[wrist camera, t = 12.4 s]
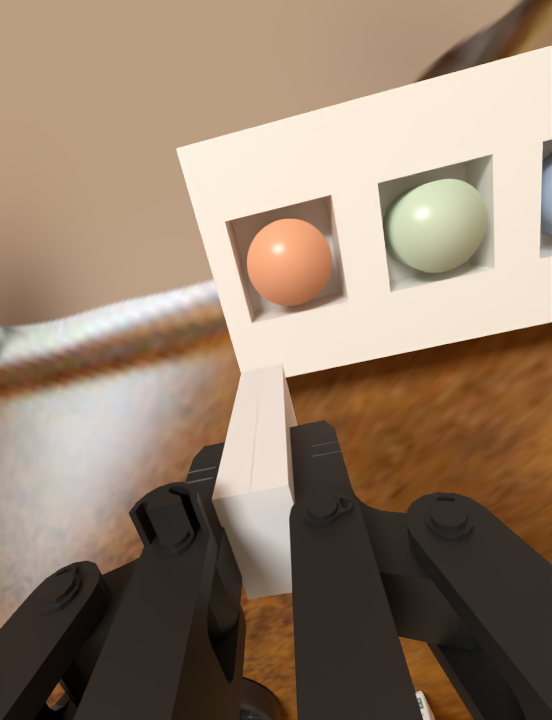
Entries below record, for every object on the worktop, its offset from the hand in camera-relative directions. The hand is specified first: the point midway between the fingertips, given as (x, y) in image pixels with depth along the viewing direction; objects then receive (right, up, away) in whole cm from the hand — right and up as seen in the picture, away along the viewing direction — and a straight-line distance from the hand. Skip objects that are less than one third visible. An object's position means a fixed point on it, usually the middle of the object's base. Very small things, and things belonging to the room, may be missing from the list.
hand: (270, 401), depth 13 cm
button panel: (+9, +10, +11) cm, 17 cm away
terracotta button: (+1, +8, +10) cm, 13 cm away
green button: (+9, +10, +9) cm, 17 cm away
